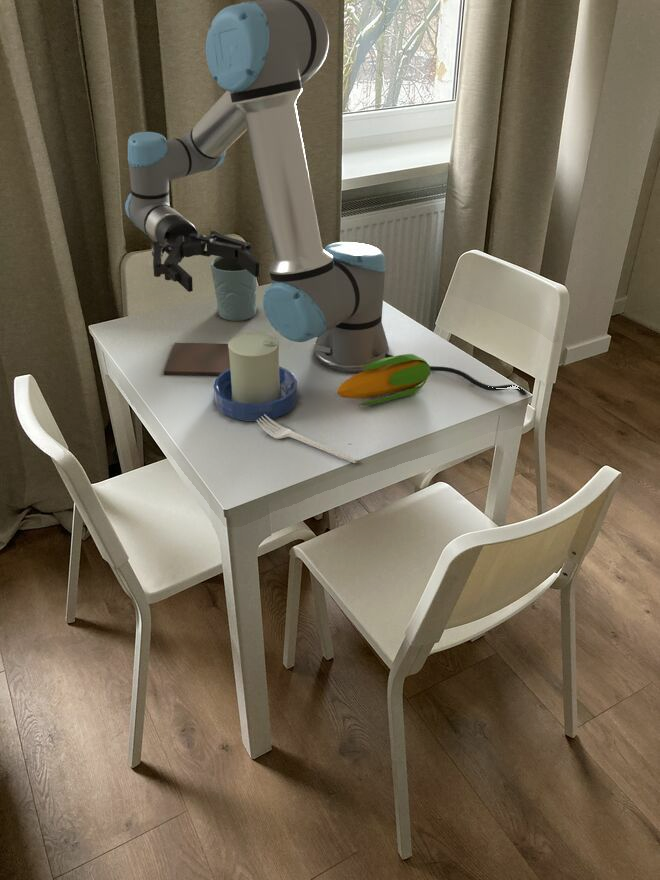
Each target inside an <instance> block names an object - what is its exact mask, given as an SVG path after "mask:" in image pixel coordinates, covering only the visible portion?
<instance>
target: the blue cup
mask: <svg viewBox="0 0 660 880" xmlns="http://www.w3.org/2000/svg"><path fill="white" fill-rule="evenodd" d="M210 269H211V276H212V281H213V286H214V291H215V298H216V306H217V307H216V308H217V313H218V316H219V317H220V318H221V319H223V320H226V321H231V322H240V321H241V322H242V321H246V320H249V319H251V318H253V317H254V316H255V315H256V313H257V294H256V293H257V292H256V291H257V277H255V276H254V275H252V274H251V273H250V272H249V271H247V270H246V269H245V268H244V267H242V266H241V265H240V264H239V263H238V260H235V259H230V258H225V257H220V256H216V257H215V258H214V259H212V260H211V262H210Z"/></svg>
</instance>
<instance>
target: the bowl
mask: <svg viewBox="0 0 660 880" xmlns="http://www.w3.org/2000/svg"><path fill="white" fill-rule="evenodd" d="M279 381H280V394H281V399H278V400H275V401H272V402H268V403H261V404H245V403H240V402H235V401H232V399H231V398H232V385H231V371H230V368H229V369H227V370H226V371H224V372H222V373H221V374H220V375H219V376H216V378H215V379H214V383H213V394H214V403H215V405H216V408H217V409H218V410H219V411H220V412H221V413H222V414H223V415H225V416H227V417H230V418H232V419H236V420H240V421H246V422H257V420H258V421H259V422H261V421H260V420H259V418H260V419H261V420H262V421H264V420H263V419H262V417H264V418H265V419H266V420H267V421H269V420H268V419H267V418H266V417H265V416H264V414H265V415H266V416H268V417H269V418H270V419H272V420H273V419H276V418H279V417H281V416H284V415H286V414H287V413H289V412H290V411H291V410H293V408H294V407H295V405H296V404H297V402H298V379H296V376H295V375H294V373H292V372H291V371H290V370H288V369H287V368H285V367H282V366H280V365H279ZM261 416H262V417H261Z"/></svg>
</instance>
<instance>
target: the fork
mask: <svg viewBox="0 0 660 880" xmlns="http://www.w3.org/2000/svg"><path fill="white" fill-rule="evenodd" d="M264 416H265V417H266V418H267V419H268V420H266V419H265V418H264V417H262V416H261V417H262V419H263V420H261V419H260V418H259V420H260V421H258V420H257V421H256V422H257V423H258V425H259V426H260V428H262V430H263V431H264V432H265V433H267V434H268V435H269V436H271V437H272V438H274V439H277V440H281V439H284V438H288V437H289V438H292V439H294V440H297V441H299V442H301V443H304V444H307V445H308V446H311V447H314V448H315V449H318V450H321V451H322V452H326V453H329V454H331V455H333V456H335V457H338V458H341V459H343V460H345V461H348V462H350V463H353V464H356V463H358V460H357V458H355V457H353V456H351V455H348V454H346V453H343V452H342V451H339V450H337V449H334V448H333V447H330V446H328V445H325V444H323V443H321V442H318V441H316V440H314V439H312V438H309V437H307V436H304V435H302V434H300V433H297V432H295V431H293V430H292V429H291V428H287V427H285V426H283V425H281V424H279V423H278V422H276V421H274V420H273V419H270V418H269V417H268V416H266V415H265V414H264Z"/></svg>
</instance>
